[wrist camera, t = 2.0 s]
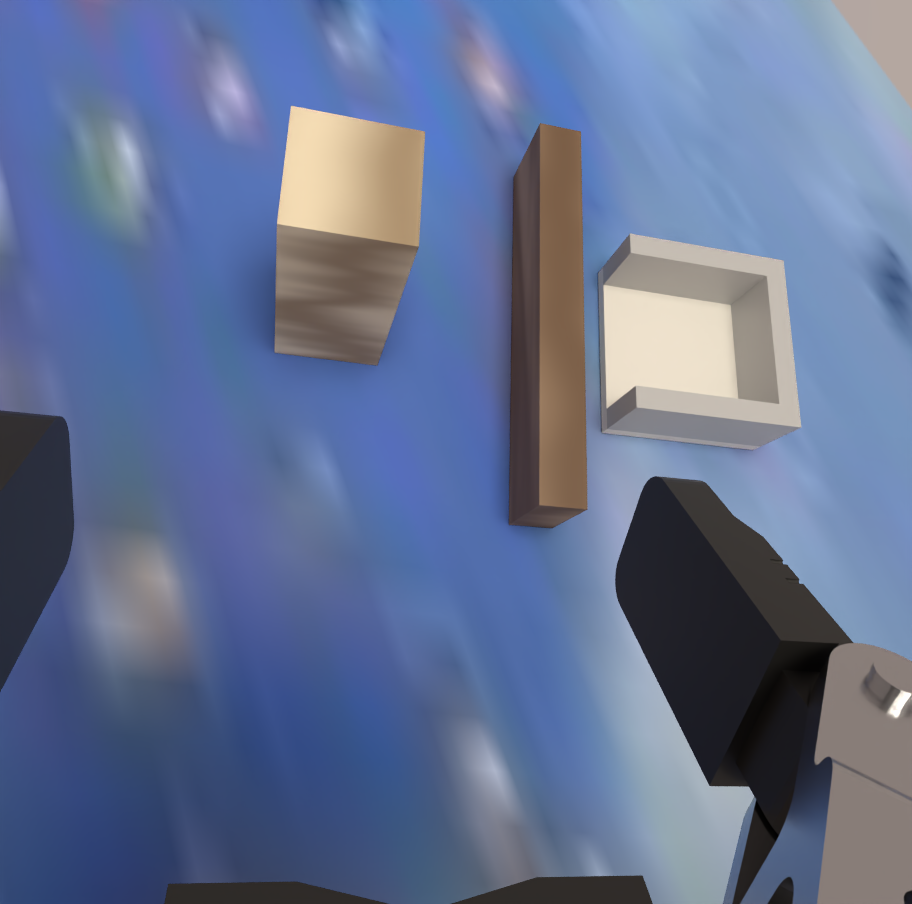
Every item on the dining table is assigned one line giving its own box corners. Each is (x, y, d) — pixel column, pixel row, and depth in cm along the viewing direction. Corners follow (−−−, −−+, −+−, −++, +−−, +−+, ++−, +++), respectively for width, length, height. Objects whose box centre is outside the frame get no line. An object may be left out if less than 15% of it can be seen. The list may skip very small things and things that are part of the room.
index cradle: (601, 432, 36) (636, 407, 32) (598, 273, 38) (629, 233, 35) (752, 450, 37) (801, 427, 34) (739, 295, 40) (783, 260, 36)
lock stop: (274, 352, 33) (277, 224, 24) (285, 261, 34) (291, 105, 25) (377, 365, 34) (418, 246, 25) (383, 276, 35) (425, 131, 26)
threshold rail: (508, 524, 33) (539, 505, 29) (513, 176, 38) (540, 123, 35) (552, 528, 34) (587, 509, 30) (550, 183, 39) (580, 131, 35)
